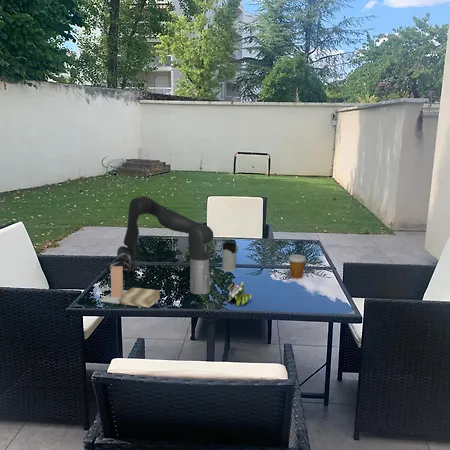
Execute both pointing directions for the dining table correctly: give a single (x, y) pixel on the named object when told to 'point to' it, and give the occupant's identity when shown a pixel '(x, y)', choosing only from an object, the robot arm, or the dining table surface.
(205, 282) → the robot arm
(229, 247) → the glass holder
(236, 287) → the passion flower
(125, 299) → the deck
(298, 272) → the disposable coffee cup
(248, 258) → the dining table surface
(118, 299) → the mat
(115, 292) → the tall tan block
